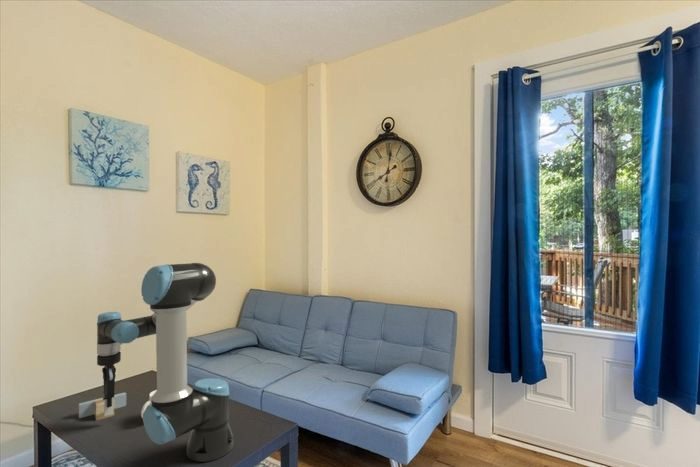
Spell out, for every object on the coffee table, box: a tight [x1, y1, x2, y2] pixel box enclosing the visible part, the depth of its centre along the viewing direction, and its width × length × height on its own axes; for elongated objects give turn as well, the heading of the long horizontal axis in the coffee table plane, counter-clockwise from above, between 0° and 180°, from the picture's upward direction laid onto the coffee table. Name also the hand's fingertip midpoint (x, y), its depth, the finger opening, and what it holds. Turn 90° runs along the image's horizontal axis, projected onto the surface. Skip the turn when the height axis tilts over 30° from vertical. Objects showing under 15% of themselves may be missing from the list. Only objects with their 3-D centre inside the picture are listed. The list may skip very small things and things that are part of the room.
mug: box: [140, 389, 157, 419], centre depth 139 cm, size 12×8×10 cm
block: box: [94, 397, 115, 421], centre depth 142 cm, size 6×6×6 cm
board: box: [78, 392, 127, 419], centre depth 146 cm, size 2×16×5 cm, turn 131°
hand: (108, 414), depth 135 cm, fingers closed
